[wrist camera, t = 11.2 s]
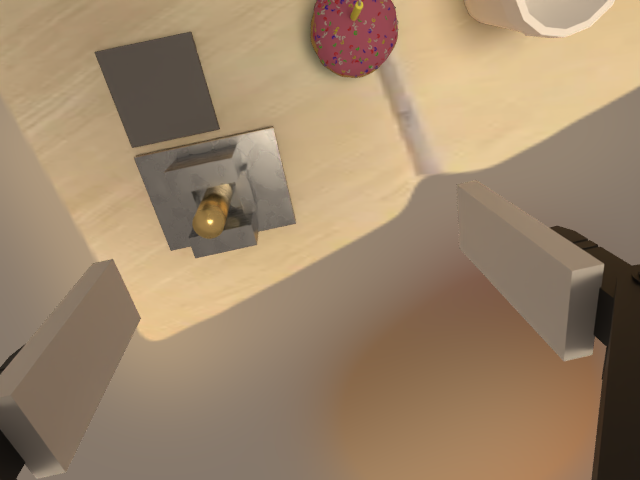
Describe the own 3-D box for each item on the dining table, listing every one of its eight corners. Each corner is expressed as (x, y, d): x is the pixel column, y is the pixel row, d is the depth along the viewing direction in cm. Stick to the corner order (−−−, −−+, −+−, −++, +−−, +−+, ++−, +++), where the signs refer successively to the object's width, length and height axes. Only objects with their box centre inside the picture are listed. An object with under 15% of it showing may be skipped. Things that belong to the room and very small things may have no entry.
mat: (96, 52, 42) (94, 52, 42) (191, 31, 43) (190, 31, 42) (133, 147, 47) (132, 147, 46) (219, 128, 47) (219, 129, 47)
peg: (203, 182, 48) (188, 213, 39) (228, 177, 48) (219, 207, 39) (211, 206, 50) (197, 241, 41) (235, 201, 50) (227, 235, 41)
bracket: (136, 155, 47) (115, 172, 41) (273, 126, 47) (273, 138, 41) (172, 247, 52) (158, 274, 46) (295, 220, 53) (298, 244, 46)
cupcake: (292, 13, 43) (298, 2, 32) (364, -33, 42) (396, -61, 31) (331, 89, 46) (349, 102, 36) (398, 49, 45) (438, 49, 34)
